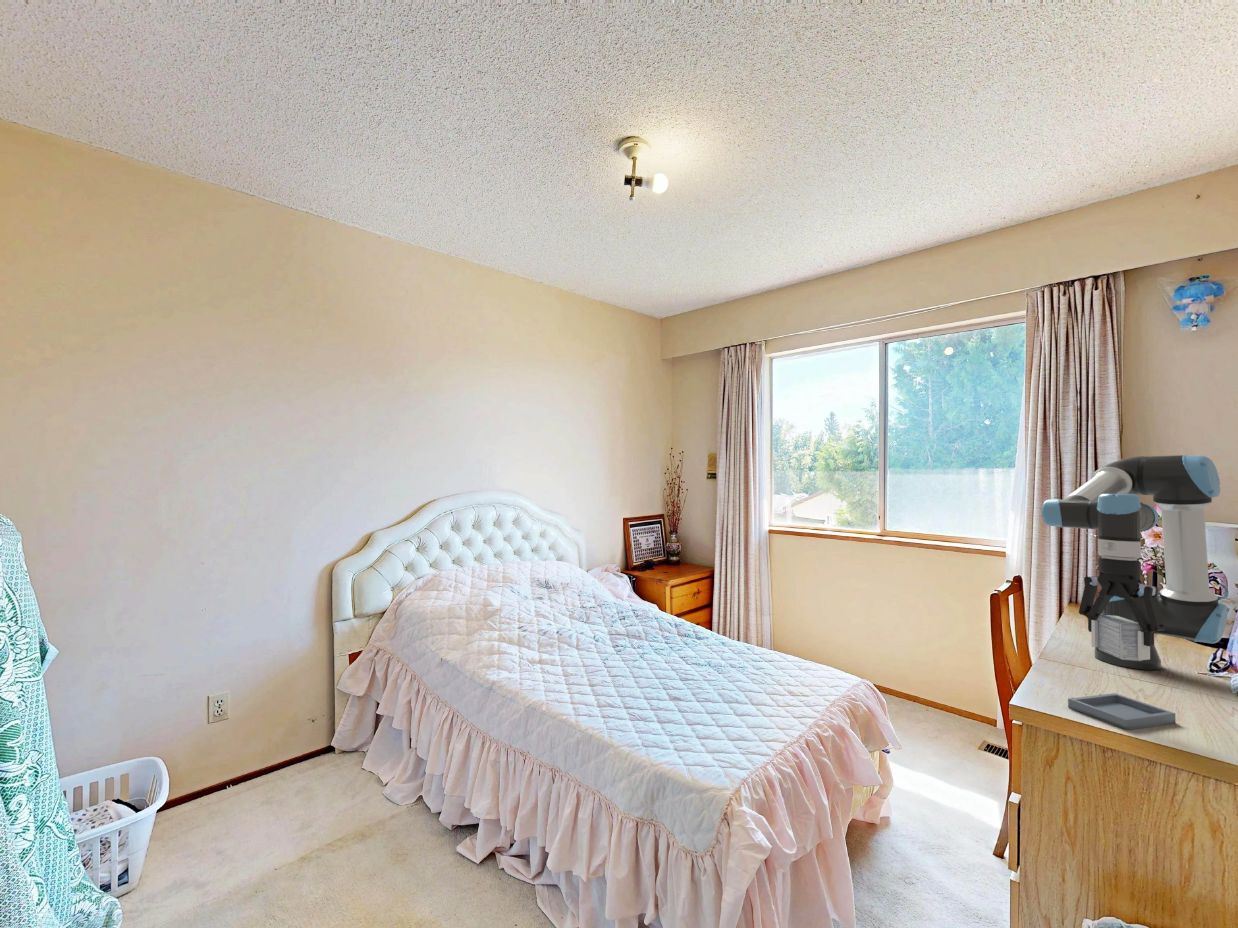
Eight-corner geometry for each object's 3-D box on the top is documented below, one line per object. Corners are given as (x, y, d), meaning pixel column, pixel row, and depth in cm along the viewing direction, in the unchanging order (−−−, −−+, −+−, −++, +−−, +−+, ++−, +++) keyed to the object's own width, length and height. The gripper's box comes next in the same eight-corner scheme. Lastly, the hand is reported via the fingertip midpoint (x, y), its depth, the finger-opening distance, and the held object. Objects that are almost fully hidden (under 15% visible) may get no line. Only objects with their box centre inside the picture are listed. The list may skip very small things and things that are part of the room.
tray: (1115, 701, 134) (1114, 692, 134) (1175, 722, 123) (1175, 713, 123) (1068, 707, 130) (1068, 698, 130) (1126, 729, 118) (1126, 719, 118)
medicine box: (1143, 661, 122) (1143, 624, 123) (1120, 659, 123) (1120, 622, 124) (1118, 651, 130) (1118, 615, 130) (1097, 649, 131) (1097, 614, 131)
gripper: (1059, 552, 137) (1060, 640, 136) (1164, 565, 116) (1165, 669, 115) (1081, 551, 139) (1081, 638, 138) (1187, 564, 118) (1189, 666, 117)
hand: (1119, 652), depth 127 cm, fingers closed on medicine box, 9 cm apart
